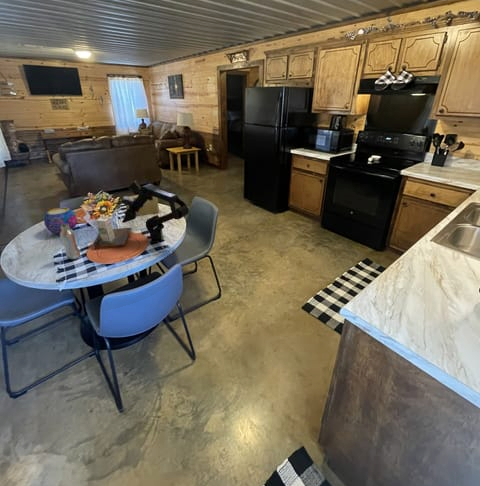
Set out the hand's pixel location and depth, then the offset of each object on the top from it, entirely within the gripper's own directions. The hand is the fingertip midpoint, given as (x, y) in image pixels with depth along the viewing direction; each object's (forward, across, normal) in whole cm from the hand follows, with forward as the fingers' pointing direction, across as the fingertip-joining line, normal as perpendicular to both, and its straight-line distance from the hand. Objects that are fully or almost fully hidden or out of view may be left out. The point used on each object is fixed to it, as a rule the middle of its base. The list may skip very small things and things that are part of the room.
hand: (124, 219), depth 158 cm
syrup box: (+16, +2, +1) cm, 16 cm away
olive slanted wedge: (+16, -2, +4) cm, 16 cm away
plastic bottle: (+27, +16, -8) cm, 33 cm away
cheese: (+7, -38, +13) cm, 41 cm away
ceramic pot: (+40, -18, -21) cm, 49 cm away
